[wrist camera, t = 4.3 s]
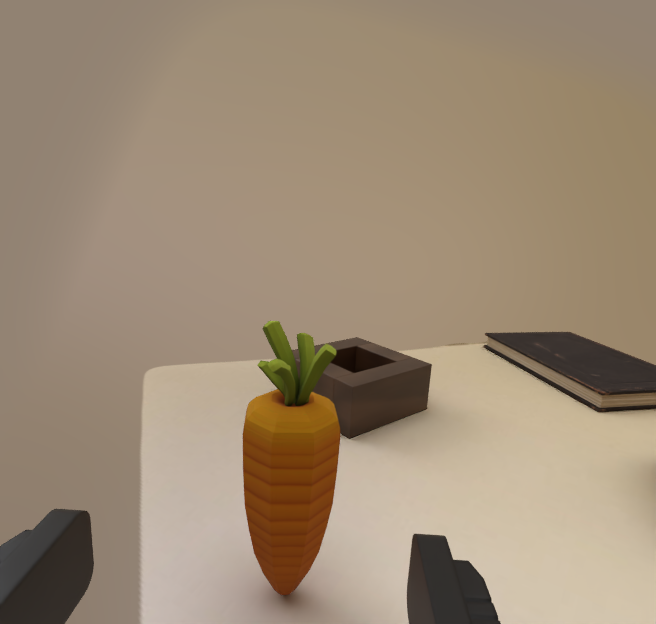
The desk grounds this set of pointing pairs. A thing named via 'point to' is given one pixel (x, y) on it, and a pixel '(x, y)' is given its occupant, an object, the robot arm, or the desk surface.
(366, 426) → the holder
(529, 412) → the desk surface
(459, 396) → the desk surface
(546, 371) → the hardcover book
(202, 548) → the desk surface
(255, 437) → the carrot
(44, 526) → the robot arm
